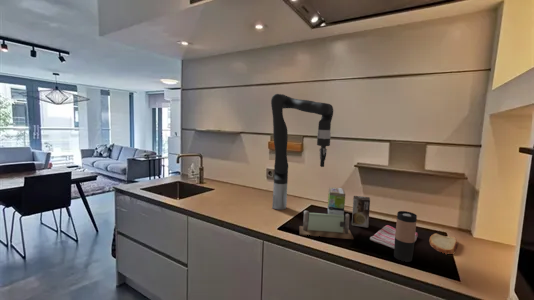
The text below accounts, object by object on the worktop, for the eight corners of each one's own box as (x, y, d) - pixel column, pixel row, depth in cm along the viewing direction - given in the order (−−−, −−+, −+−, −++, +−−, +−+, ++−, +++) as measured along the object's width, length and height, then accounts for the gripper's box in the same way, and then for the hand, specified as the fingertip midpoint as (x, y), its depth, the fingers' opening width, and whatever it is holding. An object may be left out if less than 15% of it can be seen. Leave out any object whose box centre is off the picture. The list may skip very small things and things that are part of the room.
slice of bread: (446, 256, 119) (446, 248, 118) (415, 238, 136) (416, 231, 136) (477, 253, 123) (478, 246, 122) (444, 236, 140) (445, 230, 140)
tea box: (344, 216, 165) (345, 193, 163) (327, 214, 167) (329, 192, 165) (342, 209, 179) (343, 187, 178) (327, 207, 181) (328, 186, 180)
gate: (308, 230, 138) (309, 213, 137) (308, 228, 140) (309, 212, 139) (343, 232, 137) (344, 216, 136) (342, 231, 138) (343, 215, 137)
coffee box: (367, 223, 154) (370, 197, 152) (368, 228, 147) (370, 200, 146) (351, 221, 156) (353, 195, 155) (351, 225, 150) (353, 198, 149)
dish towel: (418, 238, 137) (419, 232, 136) (405, 254, 120) (406, 246, 120) (384, 228, 148) (385, 223, 148) (368, 241, 131) (369, 234, 131)
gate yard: (299, 234, 135) (300, 214, 134) (299, 227, 145) (300, 207, 144) (353, 239, 132) (355, 218, 131) (349, 231, 142) (350, 211, 141)
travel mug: (389, 253, 119) (393, 210, 117) (405, 253, 119) (409, 210, 117) (399, 262, 111) (404, 217, 109) (416, 262, 112) (421, 217, 110)
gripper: (316, 136, 161) (314, 164, 163) (318, 138, 148) (316, 168, 150) (328, 137, 160) (327, 165, 162) (331, 138, 147) (329, 168, 149)
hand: (322, 166), depth 156 cm, fingers closed
